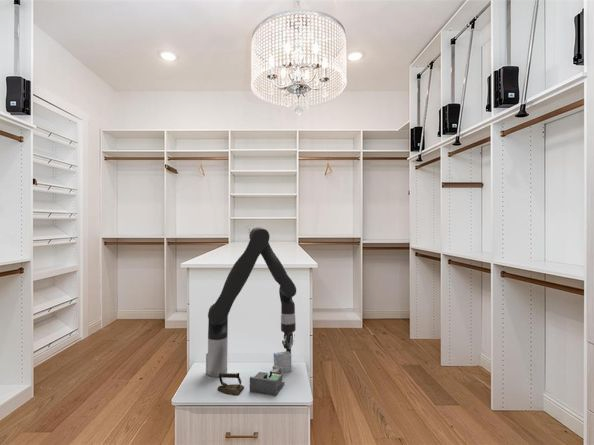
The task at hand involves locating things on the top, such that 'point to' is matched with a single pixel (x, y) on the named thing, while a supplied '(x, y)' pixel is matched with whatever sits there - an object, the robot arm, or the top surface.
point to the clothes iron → (230, 389)
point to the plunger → (275, 370)
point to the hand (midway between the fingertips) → (288, 355)
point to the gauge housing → (266, 384)
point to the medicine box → (283, 361)
